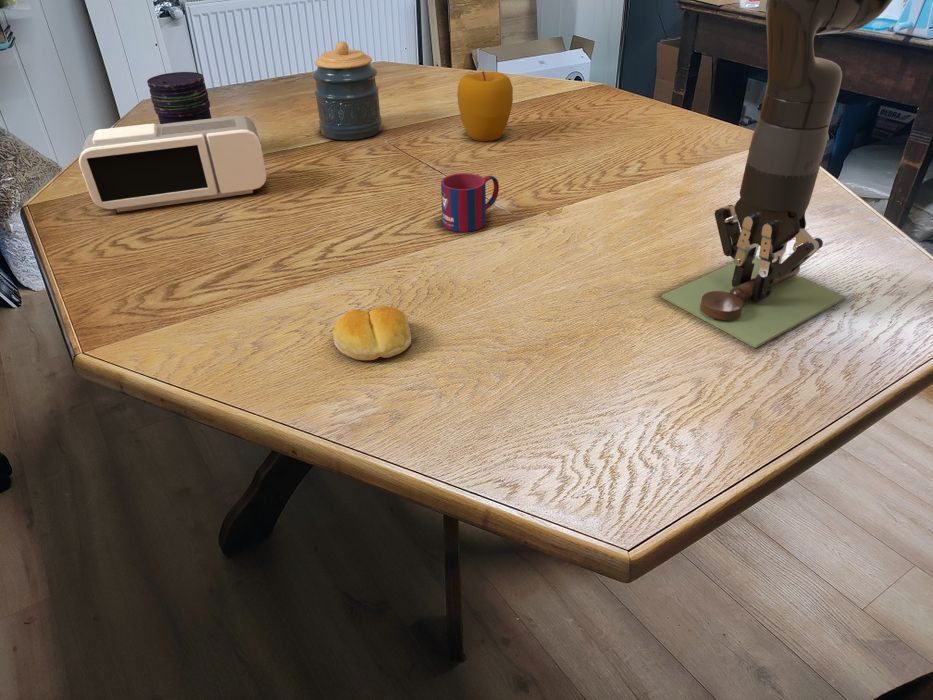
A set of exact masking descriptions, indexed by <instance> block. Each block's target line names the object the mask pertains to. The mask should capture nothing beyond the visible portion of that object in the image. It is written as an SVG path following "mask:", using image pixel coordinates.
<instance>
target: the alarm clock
mask: <svg viewBox="0 0 933 700" xmlns="http://www.w3.org/2000/svg"><path fill="white" fill-rule="evenodd" d="M211 118H212V117H211ZM78 165H79V169H80V171H81V174H82V177H83V179H84V182H85V185H86V188H87V191H88V193H89V197H90V199H91V200H92V202H93V203H94V204H95V205H96V206H97V207H99V208H101V209H104V210H116V213H120V212H127V211H134V210H142V209H148V208H157V207H162V206H169V205H177V204H185V203H191V202H199V201H205V200H206V201H207V200H213V199H220V198H221V199H222V198H228V197H234V196H235V197H236V196H242V195H248V194H253V193H254V190H258V189H260V188H261V187H262V186H264V185H265V183H266V180H267V170H266V166H265V165H266V164H265V161H264V154H263V150H262V145H261V140H260V137H259V134H258V130H257V127H256V124H255V122H254V121H253V120H252V118H250V117H248V116H246V115H231V116H223V117H213V118H212V119H203V120H194V121H185V122H176V123H167V124H160V123H159V124H156V123H147V124H146V123H145V124H144V123H143V124H137V125H136V124H135V125H127V126H126V125H125V126H119V127H110V128H101V129H95V131H94V132H91V133H90V134H89V135H87V136H86V139H85V141H84V143H83V147H82V149H81V152H80V155H79V158H78Z"/></svg>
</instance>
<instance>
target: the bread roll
mask: <svg viewBox="0 0 933 700" xmlns="http://www.w3.org/2000/svg"><path fill="white" fill-rule="evenodd" d="M332 337H333V341H334V342H333V343H334V345H335V347H336V348H337V349H338V350H339V352H341V353H342V354H343V355H345V356H347V357H349V358H352V359H354V360H358V361H373V360H376V359H379V358H380V357H381V358H384V359H385V358H387V359H388V358H392V357H394V356H397V355H399V354H401V353H403V352H404V351H406V350H407V349H408V348H409V347H410V345H411V344H412V334H411V329H410V325H409V317H408V315H407V314H406V313H404V311H402V310H401V309H399V308H396V307H393V306H389V305H380V306H377V307H375V308H374V309H372V310H370V311H368V310H363V309H352V310H349V311H347V312H346V313H344V314H343V315H341V317H340V318H339V319H338V320H337V322H336V323H335V325H334V327H333V332H332Z"/></svg>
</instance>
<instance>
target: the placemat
mask: <svg viewBox="0 0 933 700" xmlns="http://www.w3.org/2000/svg"><path fill="white" fill-rule="evenodd" d="M760 261H761V258H759V257H758V258H757V257H755V259H754V260H752V263H754V268H753V272H752V276H751V279H753V278H755V277H756V276H757V275H758V274H759V267H760ZM735 266H736V264H735V263H734V262H732V263H730V264H727V265H725V266H724V267H721V268H719V269H717V270H714V271H712V272H710V273H708V274H706V275H703V276H701V277H699V278H697V279H694V280H693V281H690V282H688V283H686V284H683V285H680V286H678V287H676V288H675V289H672V290H670V291H668V292H666V293H663V294H661V299H663V300H665V301H667V302H668V303H670V304H672V305H674V306H676V307H678V308H680V309H682V310H684V311H685V312H687V313H688V314H691V315H693V316H695V317H697V318H698V319H700V320H702V321H704V322H705V323H708V324H710V325H711V326H713V327H715V328H717V329H718V330H720V331H722V332H724V333H726V334H728V335H730V336H732V337H733V338H734V339H735V338H736V339H738V341H741V342H743V343H745V344H747V345H748V346H750V347H752V348H754V349H758V348H759V347H761V346H763V345H764V344H766V343H769V342H770V341H772V340H773V339H775V338H777V337H779V336H781V335H782V334H784V333H786V332H788V331H789V330H791V329H792V330H793V328H795V327H797V326H799V325H801V324H803V323H804V322H806V321H808V320H810V319H812V318H813V317H815V316H817V315H818V314H820V313H822V312H824V311H826V310H828V309H829V308H831V307H833V306H835V305H836V304H838V303H840V302H842V301H843V300H844V301H845V299H846V296H845V295H843V294H840V293H838V292H836V291H834V290H831V289H828V288H826V287H824V286H821V285H820V284H818V283H815V282H813V281H810V280H808V279H806V278H803V277H801V276H799V275H798V274H797V275H795V276H793V277H791V278H789V279H787V280H785V281H783V282H781V283H779V284H777V285H775V286H773V287H772V291H771V294H770V295H769V296H768V297H766V298H765V299H763V300H761V301H759V302H757V303H756V302H754V301H752V300H751V298H749V299H747V300H745V301H743V308H742V312H741V315H740V316H739V317H737V318H735V319H731V320H721V319H715V318H712V317H710V316H708V315H706V314H704V313H703V312H702V311H701V309H700V304H701V299H702V296H703V295H704V294H705V293H708V292H711V291H723V292H728V293H730V291H731V289H732V288H734V287H733V286H732V279H733V274H734V270H735Z"/></svg>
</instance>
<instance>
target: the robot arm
mask: <svg viewBox="0 0 933 700" xmlns="http://www.w3.org/2000/svg"><path fill="white" fill-rule="evenodd" d="M892 2H893V0H766V4H765V25H766V44H767V47H766V48H767V80H766V86H765V90H764V94H763V99H762V103H761V107H760V112H759V116H758V119H757V122H756V125H755V128H754V130H753V133H752V136H751V140H750V145H749V148H748V154H747V158H746V163H745V166H744V167H745V168H744V171H743V176H742V179H741V184H740V190H739V199H738V200H737V201H736V203H735V204H734V205H733V204H728V205H725V206H722V207H719V208H718V209H716V210H715V211H714V218H715V223H716V226H717V232H718V234H719V239H720V244H721V248H722V252H723V255H724V256H725V257H731V258H732V259H733V263H735V264H736V266H735V270H734V274H733V279H732V286H733V287H736V286H738V285H740V284H742V283H745V282H747V281H749V280H751V276H752V272H753V268H754V263H752V260H754V259H755V258H756V257H757V252H758V250H759V253H758V259H760V260H761V261H760V267H759V274H758V275H757V276H756V280H755V284H754V287H753V291H752V296H751V300H752V301H754V302H756V303H757V302H759V301H761V300H763V299H765V298H766V297H768V296H769V295H770V294H771V291H772V287H773V284H774V280H775V278H777V279H780V278H782V277H784V276H786V275H788V274H790V273H792V272H794V271H795V270H796V269H797V268H798V267H799V266H800V267H801V266H802V265H803V264H804V263H805V262H806V261H808V259H810V258H811V257H812V256H814V254H816V252H818V251H819V250H820V249H821V248H822V247H823V245H824V241H823V239H821V238H820V237H815V238H813V237H812V235H811V234H810V233H809V232H808V231H807V229H806V226H807V221H806V211H807V209H808V207H809V205H810V202H811V199H812V196H813V193H814V192H813V191H814V189H815V185H816V182H817V178H818V175H819V171H820V168H821V164H822V161H823V159H824V154H825V152H826V147H827V141H828V137H829V136H828V134H829V130H830V125H831V121H832V117H833V114H834V110H835V107H836V105H837V104H836V103H837V100H838V96H839V94H840V89H841V84H842V80H843V71H842V68H841V66H840V65H839V64H838V63H836V62H835V61H833V60H830V59H826V58H822V57H817V56H815V49H814V40H815V36H819V35H834V34H836V35H837V34H845V33H846V34H847V33H850V32H853V31H857V30H859V29H861V28H863V27H865V26H867V25H869V24H871V23H872V22H874V21H875V20H877V18H878V17H880V16H881V15H882V14H883V13H884V12H885V11H886V9H888V7H889V6H890V4H891V3H892ZM794 238H795V242H794V244H793V247H792V250H793V252H792V253H791V254H790V255H789V256H788V257H787V258H785V260H783V261H782V259H783V256H784V254H785V253H786V251H787V245H788V243H789V242H791V240H793V239H794Z"/></svg>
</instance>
